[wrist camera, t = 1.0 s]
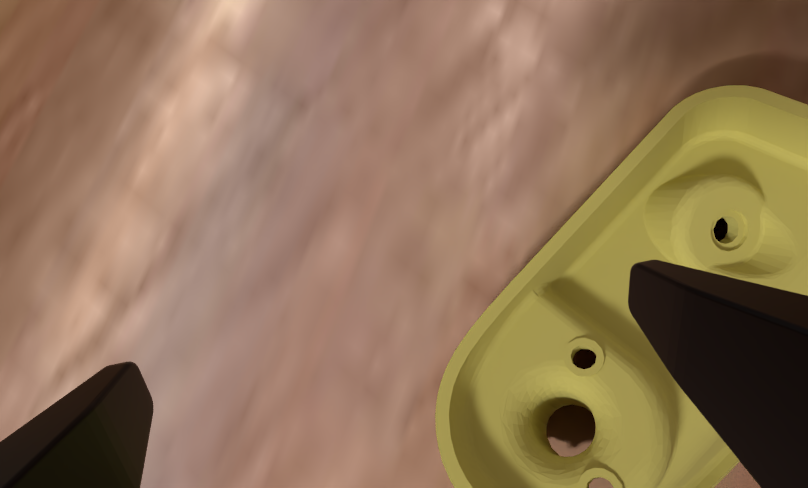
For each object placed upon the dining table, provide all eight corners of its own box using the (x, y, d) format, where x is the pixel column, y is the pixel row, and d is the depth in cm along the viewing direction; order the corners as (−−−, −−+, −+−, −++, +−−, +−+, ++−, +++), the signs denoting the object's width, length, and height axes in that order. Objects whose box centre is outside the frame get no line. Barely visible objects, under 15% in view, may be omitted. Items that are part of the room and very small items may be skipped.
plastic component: (708, 68, 21) (1014, 179, 16) (697, 162, 27) (915, 267, 22) (390, 410, 21) (585, 655, 15) (450, 430, 27) (605, 611, 21)
